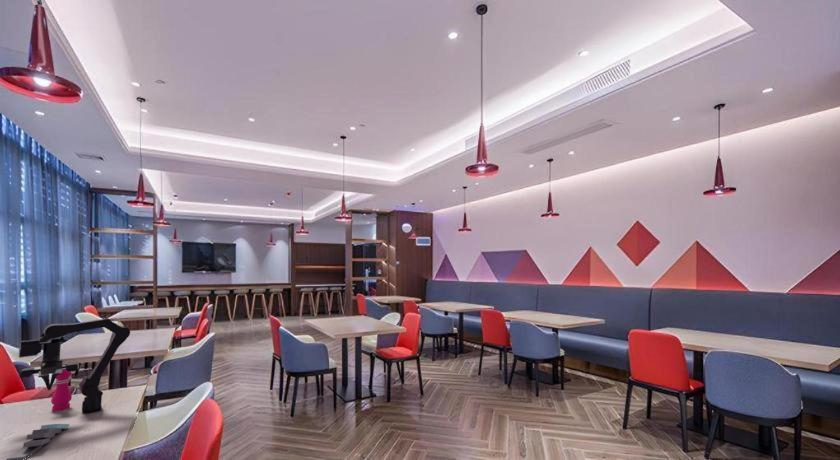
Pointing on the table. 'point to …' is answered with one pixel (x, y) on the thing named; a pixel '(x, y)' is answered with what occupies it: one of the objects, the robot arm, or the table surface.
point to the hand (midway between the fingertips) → (49, 389)
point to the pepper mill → (62, 392)
